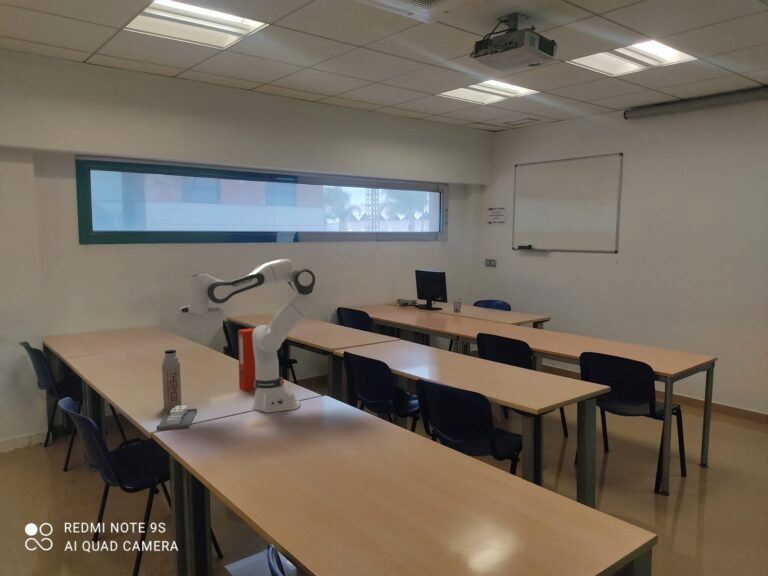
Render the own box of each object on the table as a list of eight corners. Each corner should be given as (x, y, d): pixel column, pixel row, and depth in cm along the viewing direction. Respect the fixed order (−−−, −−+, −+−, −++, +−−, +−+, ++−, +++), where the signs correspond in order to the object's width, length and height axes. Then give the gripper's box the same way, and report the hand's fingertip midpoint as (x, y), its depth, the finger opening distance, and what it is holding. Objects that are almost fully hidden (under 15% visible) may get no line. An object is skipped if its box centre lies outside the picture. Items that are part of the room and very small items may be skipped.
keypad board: (196, 412, 250) (196, 408, 250) (188, 428, 230) (188, 424, 230) (167, 413, 248) (167, 409, 248) (156, 430, 228) (156, 426, 228)
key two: (184, 412, 242) (184, 407, 241) (182, 416, 237) (182, 410, 237) (172, 413, 241) (172, 407, 241) (170, 417, 236) (170, 411, 236)
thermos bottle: (180, 409, 254) (178, 351, 251) (162, 411, 252) (160, 352, 249) (182, 404, 262) (180, 348, 259) (165, 405, 259) (162, 349, 257)
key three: (181, 420, 235) (181, 415, 235) (179, 424, 230) (179, 419, 230) (169, 421, 234) (169, 415, 234) (167, 425, 229) (166, 419, 229)
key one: (187, 410, 249) (187, 405, 248) (185, 413, 244) (185, 408, 244) (176, 410, 248) (176, 405, 248) (173, 414, 243) (173, 409, 243)
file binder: (275, 385, 293) (273, 328, 290) (244, 391, 283) (243, 331, 280) (269, 382, 300) (267, 326, 297) (239, 387, 290) (237, 329, 287)
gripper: (223, 306, 253) (224, 335, 255) (178, 307, 250) (179, 336, 251) (221, 308, 247) (222, 337, 248) (175, 309, 243) (176, 339, 245)
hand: (200, 337), depth 250 cm, fingers closed
